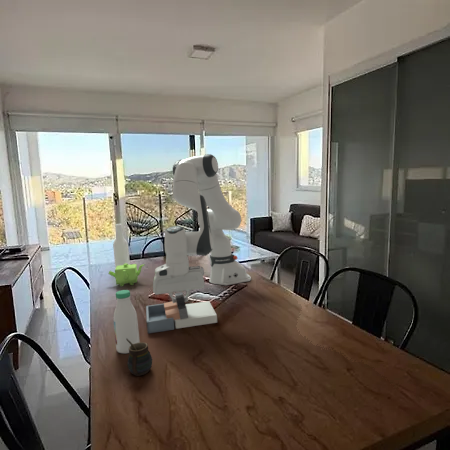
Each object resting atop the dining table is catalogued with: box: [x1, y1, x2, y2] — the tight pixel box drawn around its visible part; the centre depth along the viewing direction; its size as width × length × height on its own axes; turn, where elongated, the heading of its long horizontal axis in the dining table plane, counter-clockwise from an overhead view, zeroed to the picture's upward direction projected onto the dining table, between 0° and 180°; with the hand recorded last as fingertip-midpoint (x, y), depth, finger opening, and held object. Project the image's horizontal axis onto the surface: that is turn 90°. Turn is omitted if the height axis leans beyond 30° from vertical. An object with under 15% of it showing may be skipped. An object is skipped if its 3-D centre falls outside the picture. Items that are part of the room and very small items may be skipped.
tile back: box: [163, 300, 177, 311], centre depth 143 cm, size 5×5×2 cm
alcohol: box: [112, 223, 131, 269], centre depth 217 cm, size 9×9×30 cm
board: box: [174, 300, 218, 329], centre depth 141 cm, size 16×16×3 cm
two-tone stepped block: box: [174, 291, 188, 319], centre depth 139 cm, size 3×14×7 cm, turn 14°
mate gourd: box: [126, 339, 153, 377], centre depth 103 cm, size 7×8×10 cm
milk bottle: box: [113, 289, 141, 354], centre depth 117 cm, size 8×8×20 cm
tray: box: [145, 303, 175, 334], centre depth 138 cm, size 10×17×4 cm, turn 13°
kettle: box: [108, 263, 145, 287], centre depth 191 cm, size 15×14×11 cm
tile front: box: [165, 308, 180, 320], centre depth 134 cm, size 5×5×2 cm
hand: (180, 301), depth 139 cm, fingers closed on two-tone stepped block, 3 cm apart
